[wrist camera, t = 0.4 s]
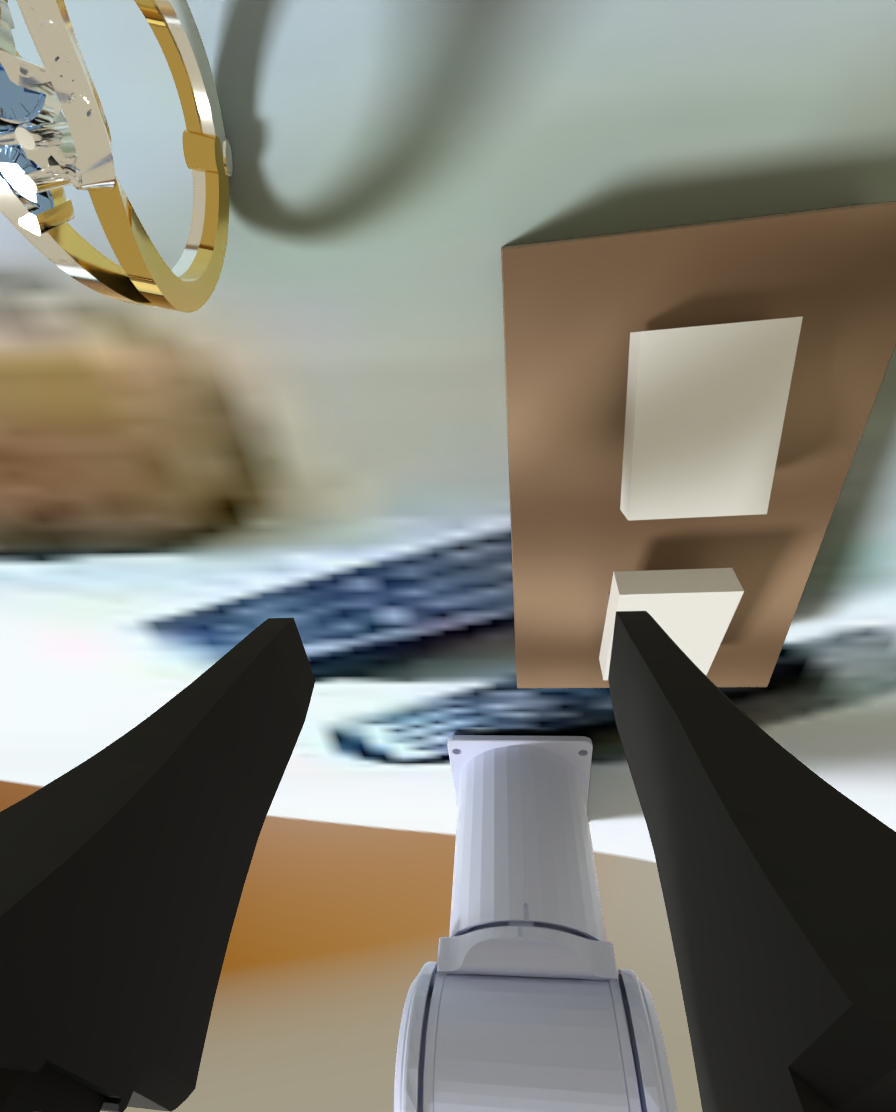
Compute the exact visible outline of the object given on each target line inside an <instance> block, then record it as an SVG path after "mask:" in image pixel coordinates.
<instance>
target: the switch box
mask: <svg viewBox="0 0 896 1112" xmlns="http://www.w3.org/2000/svg"><path fill="white" fill-rule="evenodd" d="M501 253H502V281H503V310H504V339H505V368H506V396H507V425H508V454H509V483H510V512H511V540H512V569H513V598H514V627H515V651H516V673H517V688H610V687H609V682H608V680H603V676H602V671H601V666H600V661H599V655H600V649H601V643H602V637H603V631H604V625H605V619H606V614H607V608H608V602H609V596H610V590H611V584H612V578H613V572H619V571H648V570H678V569H707V568H733V570H734V572H735V574H736V576H737V578H738V580H739V582H740V584H741V586H742V588H743V590H744V593H743V595H742V597H741V600H740V602H739V604H738V606H737V608H736V611H735V613H734V615H733V617H732V620H731V622H730V624H729V626H728V629H727V631H726V633H725V635H724V637H723V640H722V642H721V644H720V646H719V649H718V651H717V653H716V655H715V657H714V660H713V662H712V664H711V666H710V669H709V671H708V673H707V675H706V676H707V677H708V678H709V679H710V680H711V681H712V682H713V683H714V684H715V685H716V686H717V687H767V686H768V683H769V680H770V678H771V675H772V672H773V670H774V667H775V665H776V662H777V659H778V657H779V654H780V651H781V649H782V646H783V643H784V641H785V638H786V635H787V633H788V630H789V627H790V625H791V622H792V619H793V617H794V614H795V611H796V609H797V606H798V603H799V601H800V598H801V595H802V593H803V590H804V588H805V585H806V582H807V580H808V577H809V574H810V572H811V569H812V566H813V564H814V561H815V558H816V556H817V553H818V550H819V548H820V545H821V542H822V540H823V537H824V534H825V532H826V529H827V526H828V524H829V521H830V519H831V516H832V513H833V511H834V508H835V505H836V503H837V500H838V497H839V495H840V492H841V489H842V487H843V484H844V481H845V479H846V476H847V473H848V471H849V468H850V465H851V463H852V460H853V457H854V455H855V452H856V449H857V447H858V444H859V442H860V439H861V436H862V434H863V431H864V428H865V426H866V423H867V420H868V418H869V415H870V412H871V410H872V407H873V404H874V402H875V399H876V396H877V394H878V391H879V388H880V386H881V383H882V380H883V378H884V375H885V373H886V370H887V367H888V365H889V362H890V359H891V357H892V354H893V351H894V349H895V346H896V201H894V202H882V203H870V204H860V205H852V206H843V207H835V208H826V209H818V210H809V211H801V212H792V213H784V214H776V215H767V216H759V217H750V218H742V219H733V220H725V221H716V222H708V223H699V224H691V225H682V226H674V227H665V228H657V229H648V230H640V231H631V232H623V233H614V234H606V235H598V236H589V237H581V238H572V239H564V240H555V241H547V242H538V243H530V244H521V245H513V246H504V247H501ZM802 316H803V319H802V324H801V330H800V335H799V341H798V346H797V352H796V357H795V363H794V368H793V374H792V379H791V384H790V390H789V395H788V401H787V406H786V412H785V417H784V423H783V428H782V434H781V439H780V445H779V450H778V456H777V461H776V467H775V472H774V478H773V483H772V489H771V494H770V500H769V505H768V511H767V514H760V515H738V516H716V517H695V518H673V519H652V520H630V521H628V520H627V518H626V517H625V515H624V514H623V513H622V511H621V510H620V503H621V485H622V468H623V450H624V433H625V415H626V398H627V380H628V362H629V345H630V332H641V331H652V330H662V329H673V328H684V327H695V326H705V325H716V324H727V323H738V322H748V321H759V320H770V319H781V318H791V317H802Z"/></svg>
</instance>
